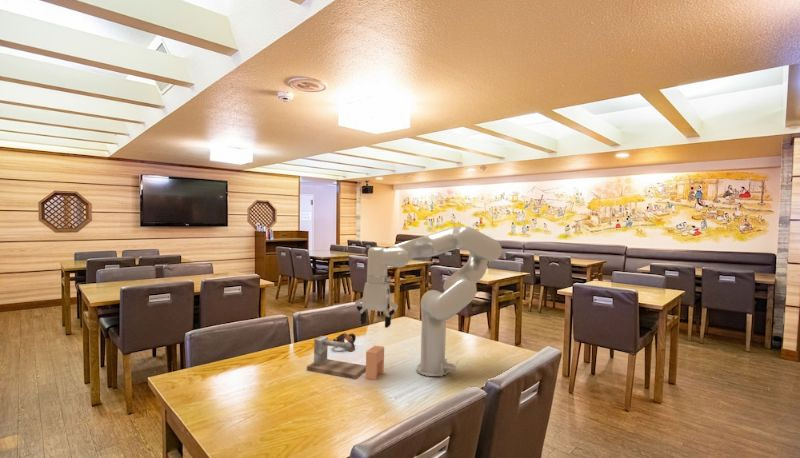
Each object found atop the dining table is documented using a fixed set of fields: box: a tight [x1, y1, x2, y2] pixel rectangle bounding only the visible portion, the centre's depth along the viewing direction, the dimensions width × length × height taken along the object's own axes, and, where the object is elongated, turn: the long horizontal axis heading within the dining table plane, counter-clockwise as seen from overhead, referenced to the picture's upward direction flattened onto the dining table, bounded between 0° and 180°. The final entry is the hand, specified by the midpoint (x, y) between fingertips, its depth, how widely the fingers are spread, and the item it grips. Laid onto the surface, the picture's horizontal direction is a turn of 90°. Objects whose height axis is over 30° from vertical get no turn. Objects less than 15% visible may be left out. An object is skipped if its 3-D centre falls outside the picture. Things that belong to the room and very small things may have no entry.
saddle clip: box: [365, 345, 385, 381], centre depth 145 cm, size 4×8×10 cm, turn 160°
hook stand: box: [306, 335, 366, 380], centre depth 149 cm, size 21×10×12 cm, turn 70°
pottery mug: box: [332, 332, 357, 353], centre depth 175 cm, size 12×10×8 cm
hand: (375, 325), depth 144 cm, fingers open, 9 cm apart
